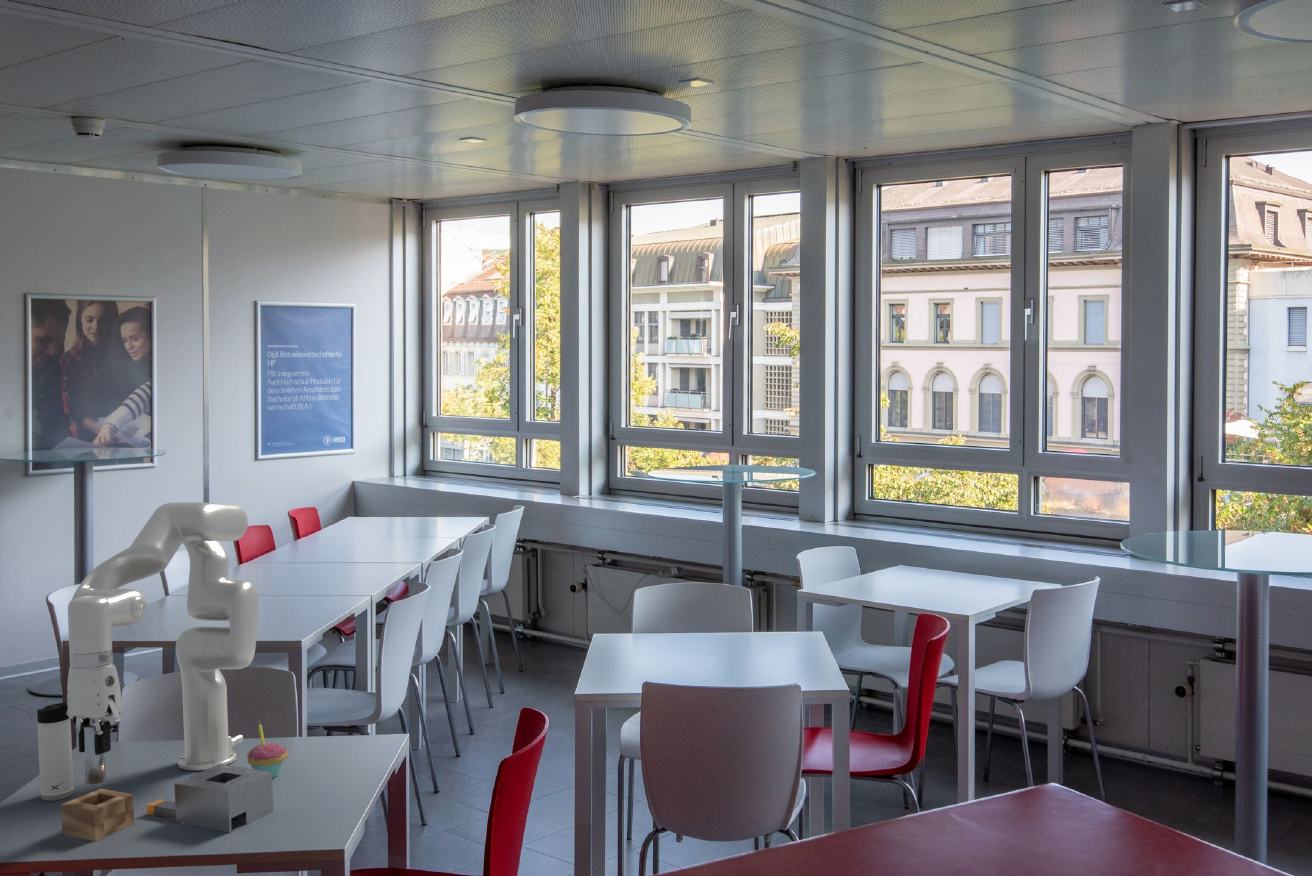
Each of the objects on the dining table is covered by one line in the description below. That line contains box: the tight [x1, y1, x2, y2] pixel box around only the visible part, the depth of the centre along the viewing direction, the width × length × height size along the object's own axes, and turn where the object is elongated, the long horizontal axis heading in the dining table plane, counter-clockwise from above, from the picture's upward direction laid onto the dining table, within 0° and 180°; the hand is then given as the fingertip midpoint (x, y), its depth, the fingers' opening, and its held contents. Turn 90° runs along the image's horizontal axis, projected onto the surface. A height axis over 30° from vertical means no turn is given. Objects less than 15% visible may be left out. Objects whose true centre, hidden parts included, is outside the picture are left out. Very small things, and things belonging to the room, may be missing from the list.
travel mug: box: [36, 702, 75, 802], centre depth 239 cm, size 6×7×20 cm
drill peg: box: [84, 722, 107, 785], centre depth 220 cm, size 4×4×11 cm
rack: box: [61, 788, 135, 842], centre depth 221 cm, size 9×9×6 cm
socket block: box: [174, 764, 274, 833], centre depth 226 cm, size 12×14×8 cm
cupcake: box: [246, 721, 289, 779], centre depth 250 cm, size 9×8×12 cm
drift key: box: [146, 798, 176, 820], centre depth 226 cm, size 3×16×2 cm, turn 67°
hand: (94, 750), depth 220 cm, fingers closed on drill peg, 3 cm apart
